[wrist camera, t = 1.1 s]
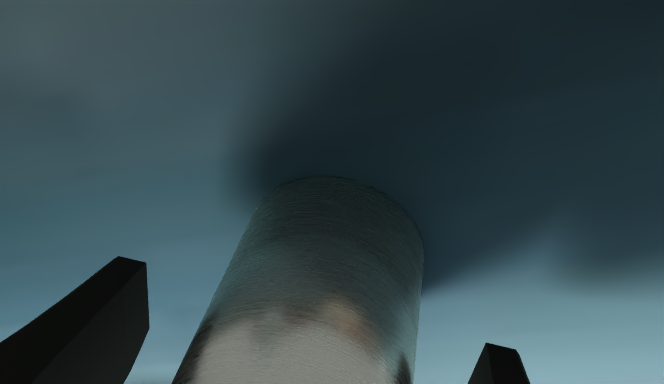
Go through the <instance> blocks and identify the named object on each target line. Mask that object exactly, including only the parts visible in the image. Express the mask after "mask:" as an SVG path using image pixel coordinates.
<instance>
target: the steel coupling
mask: <svg viewBox="0 0 664 384" xmlns="http://www.w3.org/2000/svg"><path fill="white" fill-rule="evenodd" d="M423 267H424V247H423V242H422V239H421V235H420V233H419V231H418V229H417V227H416V225H415V223H414V222H413V220H412V219H411V217H410V216H409V215H408V214H407V213H406V211H405V210H404V209H403V208H402V207H401V206H400V205H399V204H397V203H396V202H395V201H394V200H393V199H391V198H390V197H388V196H387V195H385V194H384V193H382V192H380V191H379V190H377V189H375V188H373V187H371V186H368V185H366V184H363V183H361V182H357V181H354V180H350V179H345V178H339V177H328V176H320V177H308V178H303V179H298V180H295V181H292V182H289V183H287V184H284V185H282V186H280V187H278V188H277V189H275V190H274V191H272V192H271V193H270V194H268V195H267V196H266V197H265V198H264V199H263V200H262V201H261V203H260V204H259V205H258V206H257V208H256V210H255V212H254V213H253V215H252V218H251V220H250V222H249V224H248V226H247V228H246V230H245V232H244V234H243V236H242V238H241V240H240V242H239V244H238V247H237V249H236V251H235V253H234V255H233V257H232V259H231V261H230V263H229V265H228V267H227V269H226V271H225V274H224V276H223V278H222V280H221V282H220V284H219V286H218V288H217V290H216V292H215V294H214V296H213V298H212V301H211V303H210V305H209V307H208V309H207V311H206V313H205V315H204V317H203V319H202V321H201V323H200V325H199V328H198V330H197V332H196V334H195V336H194V338H193V340H192V342H191V344H190V346H189V348H188V350H187V352H186V355H185V357H184V359H183V361H182V363H181V365H180V367H179V369H178V371H177V373H176V375H175V377H174V379H173V381H172V384H413V378H414V367H415V356H416V345H417V334H418V323H419V312H420V300H421V289H422V278H423Z"/></svg>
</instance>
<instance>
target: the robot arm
mask: <svg viewBox="0 0 664 384" xmlns="http://www.w3.org/2000/svg"><path fill="white" fill-rule="evenodd" d="M148 330H149V308H148V288H147V268H146V262H141V261H137V260H133V259H129V258H124V257H120V256H118V257H116V258H115V259H113V260H112V261H111V262H109V263H108V264H107V265H106V266H104V267H103V268H102V269H100V270H99V271H98V272H97V273H95V274H94V275H93V276H91V277H90V278H89V279H88V280H86V281H85V282H84V283H82V284H81V285H80V286H79V287H77V288H76V289H75V290H73V291H72V292H71V293H69V294H68V295H67V296H65V297H64V298H63V299H62V300H60V301H59V302H57V303H56V304H55V305H53V306H52V307H51V308H49V309H48V310H46V311H45V312H44V313H42V314H41V315H40V316H38V317H37V318H35V319H34V320H33V321H31V322H30V323H29V324H27V325H26V326H24V327H23V328H21V329H20V330H18V331H17V332H15V333H14V334H12V335H11V336H9V337H8V338H6V339H5V340H3V341H2V342H0V384H123V383H124V382H125V380H126V378H127V376H128V375H129V373H130V371H131V369H132V367H133V364H134V362H135V360H136V358H137V356H138V354H139V351H140V349H141V347H142V344H143V342H144V340H145V337H146V335H147V333H148ZM468 384H530V382H529V379H528V377H527V374H526V371H525V369H524V366H523V363H522V361H521V358H520V355H519V354H518V352H517V351H516V350H515V349H511V348H507V347H503V346H498V345H494V344H490V343H486V344H485V346H484V348H483V350H482V353H481V355H480V357H479V359H478V362H477V364H476V366H475V368H474V371H473V373H472V375H471V377H470V380H469V382H468Z"/></svg>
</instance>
